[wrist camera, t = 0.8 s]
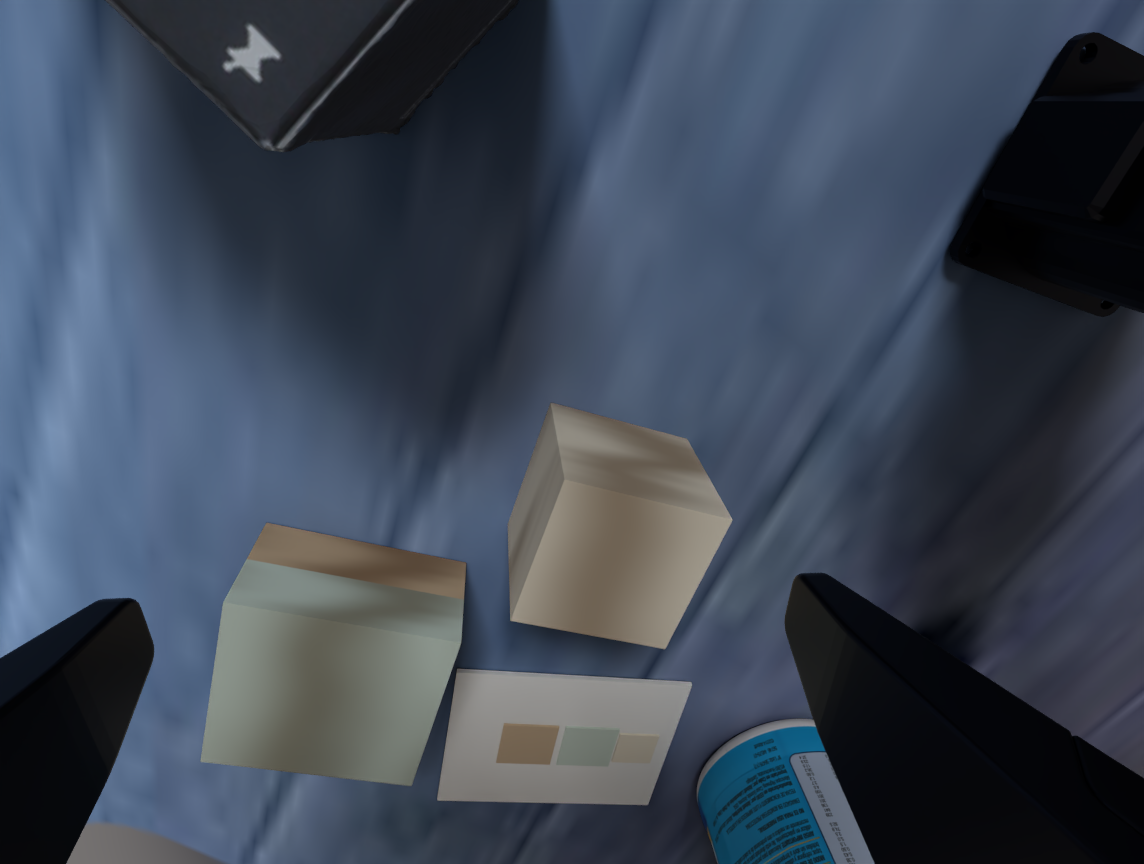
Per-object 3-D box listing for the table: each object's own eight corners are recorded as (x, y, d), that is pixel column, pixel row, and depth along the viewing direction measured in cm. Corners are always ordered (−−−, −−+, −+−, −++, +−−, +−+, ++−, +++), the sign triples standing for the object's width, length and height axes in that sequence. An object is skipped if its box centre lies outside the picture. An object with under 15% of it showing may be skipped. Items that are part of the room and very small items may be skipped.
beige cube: (686, 438, 23) (732, 520, 18) (634, 550, 25) (665, 648, 20) (550, 401, 22) (564, 479, 17) (507, 522, 24) (510, 620, 19)
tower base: (466, 562, 24) (461, 642, 20) (422, 695, 27) (411, 786, 23) (266, 522, 22) (223, 602, 19) (242, 668, 25) (200, 761, 22)
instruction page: (691, 681, 28) (692, 687, 28) (646, 800, 32) (648, 807, 31) (457, 668, 26) (456, 674, 26) (437, 796, 30) (436, 802, 29)
